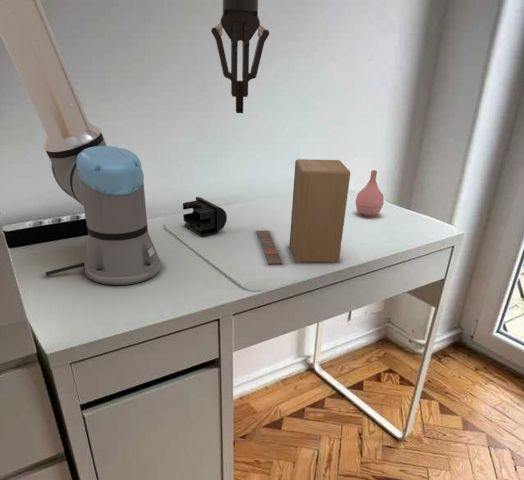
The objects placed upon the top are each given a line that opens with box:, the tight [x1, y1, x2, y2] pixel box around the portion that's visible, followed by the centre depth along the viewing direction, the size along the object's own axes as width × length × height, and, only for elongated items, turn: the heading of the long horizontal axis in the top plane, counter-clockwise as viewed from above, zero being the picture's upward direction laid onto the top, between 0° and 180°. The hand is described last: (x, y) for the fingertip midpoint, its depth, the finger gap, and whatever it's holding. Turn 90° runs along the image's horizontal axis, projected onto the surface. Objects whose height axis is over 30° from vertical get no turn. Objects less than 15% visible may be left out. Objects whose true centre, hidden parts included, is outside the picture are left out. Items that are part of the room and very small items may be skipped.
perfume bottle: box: [355, 169, 384, 217], centre depth 137 cm, size 8×8×12 cm
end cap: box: [182, 196, 228, 238], centre depth 125 cm, size 10×7×7 cm
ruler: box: [256, 230, 283, 266], centre depth 118 cm, size 20×3×1 cm, turn 8°
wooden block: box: [289, 158, 351, 263], centre depth 110 cm, size 10×10×20 cm
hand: (239, 112), depth 118 cm, fingers closed
